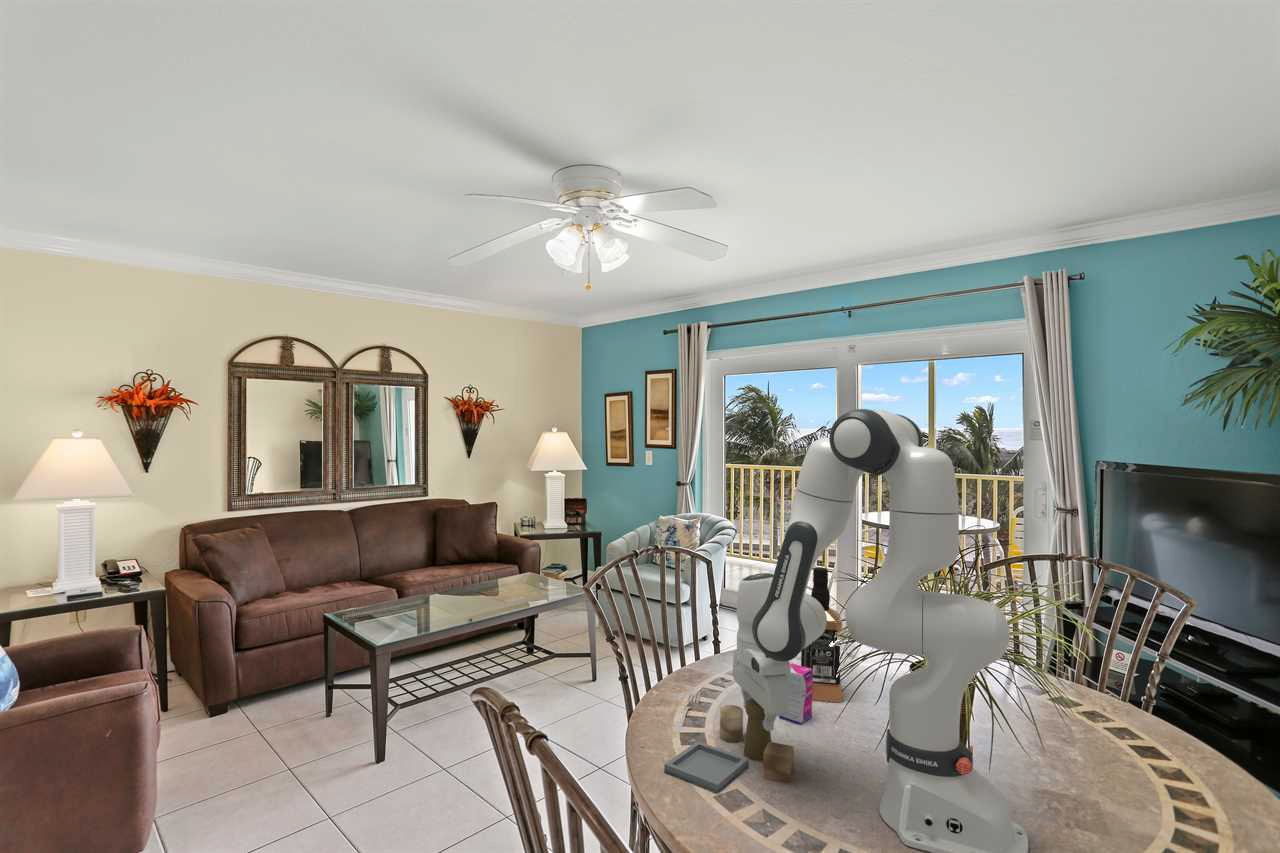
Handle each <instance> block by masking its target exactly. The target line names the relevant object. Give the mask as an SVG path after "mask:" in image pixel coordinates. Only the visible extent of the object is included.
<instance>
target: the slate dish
mask: <svg viewBox="0 0 1280 853" xmlns="http://www.w3.org/2000/svg"><path fill="white" fill-rule="evenodd" d="M749 760H750V759H749V758H747V757H746V756H745V757H744V756H742V755H739V754H735V753H733V752H730V751H726V750H724V749H722V748H719V747H715V746H712V745H710V744H707V743H703V742H701V741H698V740H697V741H696V742H694V743H693V744H691V745H690V746H688V747H687V748H685V749H684V750H682V751H681V752H679V754H677V755H676V756H674V757H673V758H671V759H669V760H668V761H667V762H665V763H664V765H663V766H664V770H663V771H664V773H666V774H668V775H670V776H671V777H675V778H677V779H679V780H683V781H685V782H687V783H690V784H693V785H695V786H698V787H701V788H702V789H705V790H708V791H710V792H713V793H715V794H719V793H721V791H723V790H724V789H725V788H726V787H728V785H729V784H731V783H732V782H734V780H736V779H737V778H738V777H739V776H740V775H741V774H742V773H744V772H745V771H746V770H747V769H749V767H750V766H749V765H750V763H749Z"/></svg>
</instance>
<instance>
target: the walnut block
mask: <svg viewBox="0 0 1280 853" xmlns="http://www.w3.org/2000/svg"><path fill="white" fill-rule="evenodd" d="M762 762H763V763H762V764H763V767H762V768H763V769H762V771H763V772H762V773H763V774H762V775H763V779H764V780H766V781H767V780H768V781H773V782H777V783H781V784H787V785H790V784H791V782H792V778H793V775H794V773H795V746H794V745H789V744H785V743H784V744H783V743H777V742H772V741H771V742H768V744H767V746H766V748H765V751H764V753H763V761H762Z"/></svg>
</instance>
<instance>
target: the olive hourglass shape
mask: <svg viewBox="0 0 1280 853" xmlns="http://www.w3.org/2000/svg"><path fill="white" fill-rule="evenodd" d="M745 713H746V715H747V724H746V731H745V738H744V743H743V744H744V746H743V755H744V756H745V758H747V759H749V760H752V761H756V762H763V753H764V751H765V748H766V746H767V744H768V742H772V737H771V735H772V734H771V731H766V730H765V729H764V728H763V719H765V713H764V709H763V708H762V707H761V706H760V705H759V704H758V703H757V702H756V701H755V700H754V699H753V698H752V699H750V700H748V702H747V703H746V709H745Z"/></svg>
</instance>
